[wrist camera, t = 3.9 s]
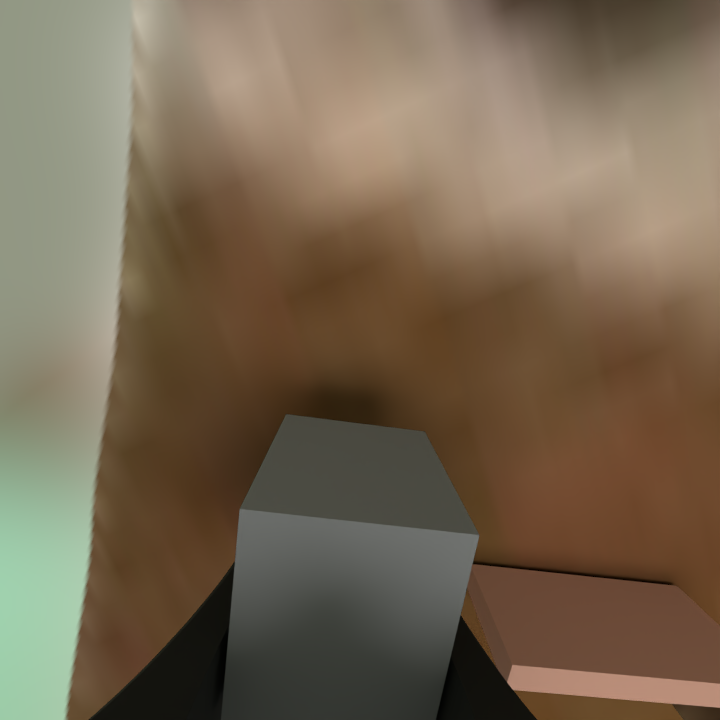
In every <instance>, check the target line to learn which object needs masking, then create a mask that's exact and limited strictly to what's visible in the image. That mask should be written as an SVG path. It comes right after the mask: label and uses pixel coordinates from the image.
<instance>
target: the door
mask: <svg viewBox="0 0 720 720" xmlns="http://www.w3.org/2000/svg"><path fill="white" fill-rule="evenodd" d="M467 589H468V592H469V595H470V597H471V600H472V603H473V605H474V608H475V611H476V613H477V616H478V618H479V621H480V624H481V626H482V629H483V632H484V634H485V637H486V640H487V642H488V645H489V648H490V650H491V653H492V656H493V658H494V661H495V664H496V666H497V669H498V671H499V672H500V673H501V675H502V676H503V677H504V679H505V680H506V681H507V683H508V684H509V685H510V687H511V688H512V689H513V690H520V691H532V692H544V693H555V694H567V695H578V696H590V697H601V698H613V699H624V700H636V701H648V702H659V703H671V704H682V705H694V706H705V707H717V708H720V626H719V625H718V624H717V623H716V622H715V621H714V620H713V619H712V618H711V617H710V616H709V615H708V614H707V613H705V612H704V611H703V610H702V609H701V608H700V607H699V606H698V605H697V604H696V603H695V602H694V601H693V600H692V599H691V598H689V597H688V596H687V595H686V594H685V593H684V592H683V591H682V590H681V589H680V588H679V587H678V586H674V585H664V584H655V583H645V582H636V581H627V580H617V579H608V578H598V577H589V576H579V575H570V574H561V573H551V572H542V571H532V570H523V569H514V568H504V567H495V566H485V565H476V564H472V568H471V572H470V577H469V581H468V585H467Z"/></svg>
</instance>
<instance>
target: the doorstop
mask: <svg viewBox="0 0 720 720" xmlns="http://www.w3.org/2000/svg"><path fill="white" fill-rule="evenodd" d="M478 539H479V534H478V532H477V530H476V528H475V526H474V524H473V522H472V520H471V518H470V517H469V515H468V513H467V511H466V509H465V507H464V505H463V503H462V501H461V500H460V498H459V496H458V494H457V492H456V490H455V488H454V486H453V484H452V482H451V481H450V479H449V477H448V475H447V473H446V471H445V469H444V467H443V465H442V464H441V462H440V460H439V458H438V456H437V454H436V452H435V450H434V448H433V446H432V445H431V443H430V441H429V439H428V437H427V435H426V433H425V432H424V431H416V430H408V429H400V428H392V427H384V426H377V425H369V424H361V423H353V422H345V421H337V420H329V419H321V418H313V417H305V416H297V415H289V414H286V416H285V418H284V420H283V422H282V424H281V426H280V428H279V430H278V432H277V434H276V436H275V438H274V440H273V442H272V444H271V446H270V448H269V450H268V452H267V454H266V456H265V458H264V460H263V463H262V465H261V467H260V469H259V471H258V473H257V475H256V477H255V479H254V481H253V483H252V485H251V487H250V489H249V491H248V493H247V495H246V497H245V499H244V501H243V503H242V505H241V507H240V512H239V523H238V534H237V545H236V557H235V568H234V579H233V590H232V602H231V613H230V624H229V635H228V646H227V658H226V669H225V680H224V691H223V703H222V714H221V720H436V717H437V712H438V708H439V704H440V700H441V695H442V691H443V687H444V683H445V679H446V674H447V670H448V666H449V662H450V657H451V653H452V649H453V645H454V640H455V636H456V632H457V628H458V623H459V619H460V615H461V611H462V606H463V602H464V598H465V594H466V589H467V585H468V581H469V577H470V572H471V568H472V564H473V560H474V555H475V551H476V547H477V543H478Z"/></svg>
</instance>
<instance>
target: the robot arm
mask: <svg viewBox="0 0 720 720" xmlns="http://www.w3.org/2000/svg"><path fill="white" fill-rule="evenodd" d="M234 568H235V562H234V563H233V565H232V566H231V568H230V569H229V570H228V572H227V573H226V575H225V576H224V577H223V579H222V580H221V581H220V583H219V584H218V585H217V586H216V588H215V589H214V590H213V592H212V593H211V594H210V595H209V597H208V598H207V599H206V600H205V601H204V603H203V604H202V605H201V606H200V607H199V609H198V610H197V611H196V612H195V613H194V615H193V616H192V617H191V618H190V619H189V620H188V622H187V623H186V624H185V625H184V626H183V627H182V628H181V629H180V631H179V632H178V633H177V634H176V635H175V636H174V637H173V638H172V639H171V640H170V641H169V642H168V644H167V645H166V646H165V647H164V648H163V649H162V650H161V651H160V652H159V653H158V654H157V655H156V656H155V657H154V658H153V659H152V660H151V662H150V663H149V664H148V665H147V666H146V667H145V668H144V669H143V670H142V671H141V672H140V673H139V674H138V675H137V676H136V677H135V678H133V679H132V680H131V681H130V682H129V683H128V684H127V685H126V686H125V687H124V688H123V689H122V690H121V691H120V692H119V693H118V694H117V695H116V696H115V697H113V698H112V699H111V700H110V701H109V702H108V703H107V704H106V705H105V706H103V707H102V708H101V709H100V710H99V711H98V712H97V713H96V714H95V715H93V716H92V717H91V718H90V719H89V720H221V714H222V703H223V691H224V680H225V669H226V658H227V646H228V635H229V624H230V613H231V602H232V590H233V579H234ZM436 720H537V719H536V718H535V717H534V716H533V714H532V713H531V712H530V711H529V710H528V708H527V707H526V706H525V705H524V703H523V702H522V701H521V700H520V698H519V697H518V696H517V695H516V693H515V692H514V691H513V689H512V688H511V687H510V685H509V684H508V683H507V681H506V680H505V679H504V677H503V676H502V675H501V673H500V672H499V671H498V669H497V668H496V666H495V665H494V664H493V662H492V661H491V659H490V658H489V657H488V655H487V654H486V652H485V651H484V649H483V648H482V646H481V645H480V644H479V642H478V641H477V639H476V638H475V636H474V635H473V633H472V632H471V630H470V629H469V627H468V626H467V624H466V623H465V621H464V620H463V618H462V616H461V615H460V619H459V623H458V628H457V632H456V636H455V640H454V645H453V649H452V653H451V657H450V662H449V666H448V670H447V674H446V679H445V683H444V687H443V691H442V695H441V700H440V704H439V708H438V712H437V717H436Z"/></svg>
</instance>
